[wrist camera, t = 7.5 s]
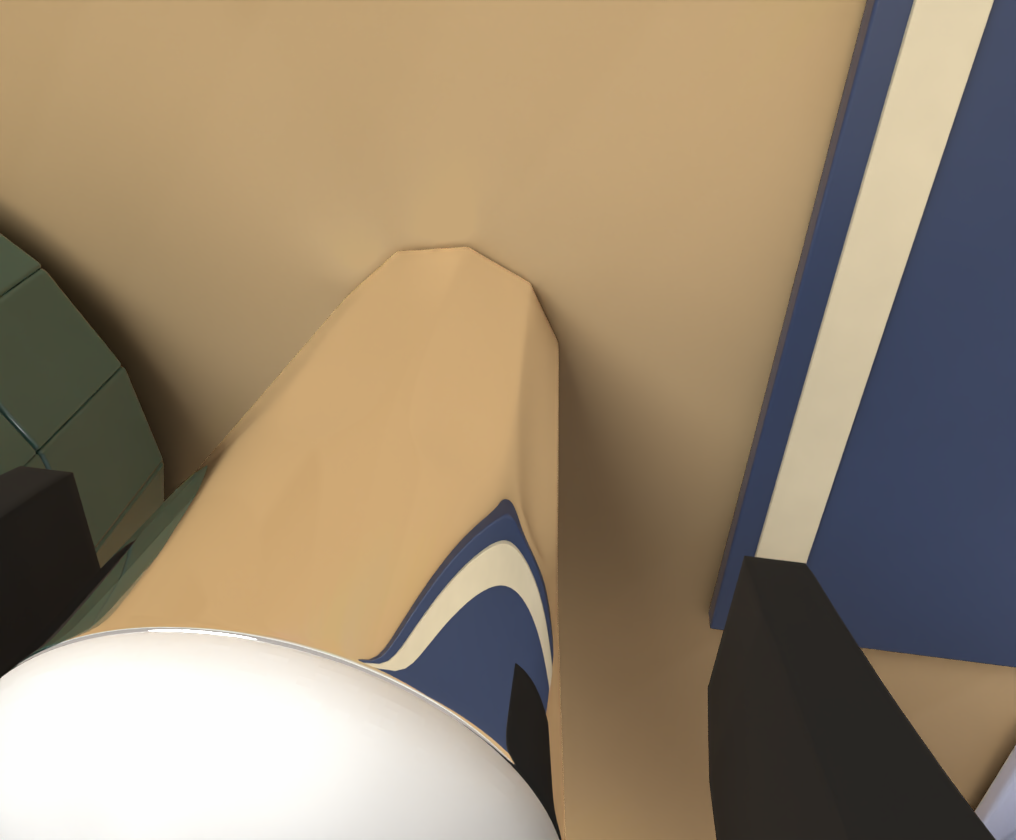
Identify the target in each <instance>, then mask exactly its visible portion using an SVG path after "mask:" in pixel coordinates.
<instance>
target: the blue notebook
mask: <svg viewBox="0 0 1016 840" xmlns="http://www.w3.org/2000/svg"><path fill="white" fill-rule="evenodd" d="M744 556H752V557H760V558H768V559H776V560H784V561H792V562H800V563H805V564H806V565H807V566H808V567H809V569H810V570H811V571H812V572H813V574H814V576H815V577H816V579H817V580H818V582H819V584H820V585H821V587H822V588H823V590H824V592H825V593H826V595H827V596H828V598H829V600H830V601H831V603H832V604H833V606H834V608H835V609H836V611H837V612H838V614H839V616H840V617H841V619H842V620H843V622H844V624H845V625H846V627H847V628H848V630H849V632H850V633H851V635H852V636H853V638H854V639H855V641H856V643H857V644H858V646H859V647H860V648H868V649H876V650H883V651H891V652H899V653H907V654H915V655H923V656H930V657H938V658H946V659H954V660H962V661H970V662H977V663H985V664H993V665H1001V666H1009V667H1016V0H867V2H866V6H865V10H864V14H863V18H862V21H861V25H860V29H859V33H858V37H857V41H856V45H855V49H854V52H853V56H852V60H851V64H850V68H849V72H848V76H847V79H846V83H845V87H844V91H843V95H842V99H841V103H840V107H839V110H838V114H837V118H836V122H835V126H834V130H833V134H832V137H831V141H830V145H829V149H828V153H827V157H826V161H825V164H824V168H823V172H822V176H821V180H820V184H819V188H818V192H817V195H816V199H815V203H814V207H813V211H812V215H811V219H810V222H809V226H808V230H807V234H806V238H805V242H804V246H803V250H802V253H801V257H800V261H799V265H798V269H797V273H796V277H795V280H794V284H793V288H792V292H791V296H790V300H789V304H788V307H787V311H786V315H785V319H784V323H783V327H782V331H781V335H780V338H779V342H778V346H777V350H776V354H775V358H774V362H773V365H772V369H771V373H770V377H769V381H768V385H767V389H766V393H765V396H764V400H763V404H762V408H761V412H760V416H759V420H758V423H757V427H756V431H755V435H754V439H753V443H752V447H751V450H750V454H749V458H748V462H747V466H746V470H745V474H744V478H743V481H742V485H741V489H740V493H739V497H738V501H737V505H736V508H735V512H734V516H733V520H732V524H731V528H730V532H729V536H728V539H727V543H726V547H725V551H724V555H723V559H722V563H721V566H720V570H719V574H718V578H717V582H716V586H715V590H714V593H713V597H712V601H711V605H710V609H709V623H710V627H711V628H712V629H719V630H724V628H725V624H726V620H727V617H728V613H729V609H730V606H731V602H732V599H733V595H734V591H735V588H736V584H737V580H738V577H739V573H740V570H741V566H742V562H743V559H744Z"/></svg>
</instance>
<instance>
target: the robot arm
mask: <svg viewBox="0 0 1016 840" xmlns="http://www.w3.org/2000/svg"><path fill="white" fill-rule="evenodd" d="M100 569H101V568H100V565H99V561H98V558H97V554H96V551H95V547H94V544H93V540H92V537H91V533H90V530H89V526H88V523H87V519H86V516H85V512H84V509H83V505H82V502H81V498H80V495H79V491H78V488H77V484H76V481H75V478H74V474H73V472H65V471H57V470H49V469H41V468H33V467H25V466H19V467H17V468H15V469H12V470H10V471H8V472H6V473H4V474H2V475H0V676H1V674H2V673H3V672H4V671H5V670H6V669H7V668H8V667H9V666H10V665H11V663H12V662H13V661H14V660H15V659H16V658H17V657H18V656H19V655H20V654H21V653H22V652H23V651H24V650H25V648H26V647H27V646H28V645H29V644H30V643H31V642H32V641H33V640H34V639H35V638H36V637H37V636H38V635H39V634H40V633H41V631H42V630H43V629H44V628H45V627H46V626H47V625H48V624H49V623H50V622H51V621H52V620H53V619H54V618H55V617H56V616H57V614H58V613H59V612H60V611H61V610H62V609H63V608H64V607H65V606H66V605H67V604H68V603H69V602H70V601H71V600H72V599H73V597H74V596H75V595H76V594H77V593H78V592H79V591H80V590H81V589H82V588H83V587H84V586H85V585H86V584H87V583H88V582H89V580H90V579H91V578H92V577H93V576H94V575H95V574H96V573H97V572H98V571H99V570H100ZM708 743H709V782H710V791H711V799H712V807H713V815H714V823H715V831H716V839H717V840H1016V745H1015V747H1014V748H1013V750H1012V752H1011V753H1010V755H1009V756H1008V758H1007V760H1006V761H1005V763H1004V765H1003V766H1002V768H1001V769H1000V771H999V773H998V774H997V776H996V778H995V779H994V781H993V782H992V784H991V786H990V787H989V789H988V791H987V792H986V794H985V795H984V797H983V799H982V800H981V802H980V804H979V805H978V807H977V808H976V810H975V812H974V811H973V809H972V808H971V807H970V805H969V804H968V803H967V801H966V800H965V799H964V797H963V796H962V795H961V793H960V792H959V790H958V789H957V788H956V786H955V785H954V784H953V782H952V781H951V780H950V778H949V777H948V776H947V774H946V773H945V771H944V770H943V769H942V767H941V766H940V765H939V763H938V762H937V760H936V759H935V757H934V756H933V755H932V753H931V752H930V750H929V749H928V747H927V746H926V745H925V743H924V742H923V740H922V739H921V737H920V736H919V735H918V733H917V732H916V730H915V729H914V728H913V726H912V725H911V723H910V722H909V720H908V719H907V718H906V716H905V715H904V713H903V712H902V710H901V709H900V708H899V706H898V705H897V703H896V702H895V700H894V699H893V697H892V696H891V694H890V693H889V691H888V690H887V688H886V687H885V685H884V684H883V682H882V681H881V679H880V678H879V676H878V675H877V673H876V672H875V670H874V669H873V667H872V666H871V664H870V663H869V661H868V660H867V658H866V656H865V655H864V653H863V652H862V650H861V649H860V647H859V646H858V644H857V643H856V641H855V639H854V638H853V636H852V635H851V633H850V632H849V630H848V628H847V627H846V625H845V624H844V622H843V620H842V619H841V617H840V616H839V614H838V612H837V611H836V609H835V608H834V606H833V604H832V603H831V601H830V600H829V598H828V596H827V595H826V593H825V592H824V590H823V588H822V587H821V585H820V584H819V582H818V580H817V579H816V577H815V576H814V574H813V572H812V571H811V570H810V569H809V567H808V566H807V565H806V564H805V563H800V562H792V561H784V560H776V559H768V558H760V557H752V556H744V559H743V562H742V566H741V570H740V573H739V577H738V580H737V584H736V588H735V591H734V595H733V599H732V602H731V606H730V609H729V613H728V617H727V620H726V624H725V628H724V631H723V635H722V638H721V642H720V646H719V649H718V653H717V657H716V660H715V664H714V667H713V671H712V675H711V678H710V682H709V685H708Z"/></svg>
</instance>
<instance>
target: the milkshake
mask: <svg viewBox="0 0 1016 840" xmlns="http://www.w3.org/2000/svg"><path fill="white" fill-rule="evenodd" d="M558 433H559V346H558V341H557V339H556V337H555V335H554V333H553V331H552V329H551V326H550V324H549V322H548V320H547V318H546V316H545V314H544V312H543V309H542V307H541V305H540V303H539V301H538V299H537V296H536V294H535V292H534V290H533V288H532V286H531V283H530V282H528V281H526V280H525V279H523V278H521V277H519V276H518V275H516V274H514V273H512V272H511V271H509V270H507V269H505V268H504V267H502V266H500V265H498V264H497V263H495V262H493V261H492V260H490V259H488V258H486V257H485V256H483V255H481V254H480V253H478V252H476V251H474V250H473V249H471V248H469V247H454V248H440V249H424V250H407V251H397V252H395V253H394V254H393V255H392V256H391V257H390V258H389V259H388V260H387V261H385V262H384V263H383V264H382V265H381V266H380V267H379V268H378V269H377V270H376V271H374V272H373V273H372V274H371V275H370V276H369V277H368V278H367V279H365V280H364V281H363V282H362V283H361V284H360V285H359V286H358V287H356V288H355V289H354V290H353V291H352V292H351V293H350V294H349V295H348V296H347V297H346V298H345V299H344V300H343V301H342V302H341V303H340V304H339V306H338V307H337V308H336V309H335V310H334V311H333V313H332V314H331V315H330V316H329V317H328V318H327V319H326V321H325V322H324V323H323V324H322V325H321V326H320V328H319V329H318V330H317V331H316V332H315V333H314V335H313V336H312V337H311V338H310V339H309V340H308V342H307V343H306V344H305V345H304V346H303V347H302V349H301V350H300V351H299V352H298V353H297V354H296V356H295V357H294V358H293V359H292V360H291V361H290V363H289V364H288V365H287V366H286V367H285V368H284V369H283V371H282V372H281V373H280V374H279V375H278V376H277V378H276V379H275V380H274V381H273V382H272V383H271V385H270V386H269V387H268V388H267V389H266V390H265V392H264V393H263V394H262V395H261V396H260V397H259V399H258V400H257V401H256V402H255V403H254V404H253V405H252V407H251V408H250V409H249V410H248V411H247V412H246V414H245V415H244V416H243V417H242V418H241V419H240V421H239V422H238V423H237V424H236V425H235V426H234V428H233V429H232V430H231V431H230V432H229V433H228V434H227V436H226V437H225V438H224V439H223V440H222V441H221V443H220V444H219V445H218V446H217V447H216V448H215V450H214V451H213V452H212V453H211V454H210V455H209V456H208V458H207V459H206V460H205V461H204V462H203V463H202V464H201V465H200V467H199V468H198V469H197V470H196V471H195V472H194V473H193V474H192V475H191V476H190V477H189V478H188V479H187V480H186V481H184V482H183V483H182V484H181V485H180V486H179V487H178V488H177V489H176V490H175V491H174V492H173V493H172V494H171V495H170V496H169V497H168V498H167V499H166V500H165V501H164V502H163V503H162V504H161V505H160V507H159V508H158V509H157V510H156V511H155V512H154V513H153V514H152V515H151V516H150V517H149V518H148V519H147V520H146V521H145V522H144V523H143V524H142V525H141V526H140V528H139V529H138V530H137V531H136V532H135V533H134V534H133V535H132V536H131V537H130V538H129V539H128V540H127V541H126V542H125V543H124V544H123V545H122V547H121V548H120V549H119V550H118V551H117V552H116V553H115V554H114V555H113V556H112V557H111V558H110V559H109V560H108V561H107V562H106V564H105V565H104V566H103V567H102V568H101V569H100V570H99V571H98V572H97V573H96V574H95V575H94V576H93V577H92V578H91V579H90V580H89V582H88V583H87V584H86V585H85V586H84V587H83V588H82V589H81V590H80V591H79V592H78V593H77V594H76V595H75V596H74V597H73V599H72V600H71V601H70V602H69V603H68V604H67V605H66V606H65V607H64V608H63V609H62V610H61V611H60V612H59V613H58V614H57V616H56V617H55V618H54V619H53V620H52V621H51V622H50V623H49V624H48V625H47V626H46V627H45V628H44V629H43V630H42V631H41V633H40V634H39V635H38V636H37V637H36V638H35V639H34V640H33V641H32V642H31V643H30V644H29V645H28V646H27V647H26V648H25V650H24V651H23V652H22V653H21V654H20V655H19V656H18V657H17V658H16V659H15V660H14V661H13V662H12V663H11V665H10V666H9V667H8V668H7V669H6V670H5V671H4V672H3V673H2V674H1V676H0V840H566V836H565V806H564V777H563V749H562V720H561V690H560V661H559V630H558Z"/></svg>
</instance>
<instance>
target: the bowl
mask: <svg viewBox="0 0 1016 840" xmlns="http://www.w3.org/2000/svg"><path fill="white" fill-rule="evenodd" d="M162 460H163V457H162V455H161V453H160V450H159V448H158V445H157V443H156V441H155V438H154V436H153V433H152V431H151V428H150V426H149V424H148V421H147V419H146V416H145V414H144V412H143V409H142V407H141V404H140V402H139V400H138V397H137V395H136V392H135V390H134V387H133V385H132V383H131V380H130V378H129V375H128V373H127V371H126V369H125V368H124V367H121V362H120V361H119V359H118V358H117V357H116V356H115V355H114V353H113V352H112V351H111V350H110V348H109V347H108V346H107V345H106V343H105V342H104V341H103V340H102V339H101V337H100V336H99V335H98V334H97V332H96V331H95V330H94V329H93V327H92V326H91V325H90V324H89V322H88V321H87V320H86V319H85V318H84V316H83V315H82V314H81V313H80V311H79V310H78V309H77V308H76V306H75V305H74V304H73V303H72V302H71V300H70V299H69V298H68V297H67V295H66V294H65V293H64V292H63V290H62V289H61V288H60V287H59V286H58V284H57V283H56V282H55V281H54V279H53V278H52V277H51V276H50V274H49V273H48V272H47V271H46V270H44V269H41V264H40V263H39V262H38V261H37V260H35V259H34V258H33V257H31V256H30V255H29V254H27V253H26V252H25V251H23V250H22V249H21V248H19V247H18V246H17V245H15V244H14V243H13V242H12V241H10V240H9V239H8V238H6V237H5V236H4V235H2V234H1V233H0V475H2V474H4V473H6V472H8V471H10V470H12V469H15V468H17V467H19V466H25V467H33V468H41V469H49V470H57V471H65V472H73V474H74V478H75V481H76V484H77V488H78V491H79V495H80V498H81V502H82V505H83V509H84V512H85V516H86V519H87V523H88V526H89V530H90V533H91V537H92V540H93V544H94V547H95V551H96V554H97V558H98V561H99V565H100V568H102V567H103V566H104V565H105V564H106V562H107V561H108V560H109V559H110V558H111V557H112V556H113V555H114V554H115V553H116V552H117V551H118V550H119V549H120V548H121V547H122V545H123V544H124V543H125V542H126V541H127V540H128V539H129V538H130V537H131V536H132V535H133V534H134V533H135V532H136V531H137V530H138V529H139V528H140V526H141V525H142V524H143V523H144V522H145V521H146V520H147V519H148V518H149V517H150V516H151V515H152V514H153V513H154V512H155V511H156V510H157V509H158V508H159V507H160V505H161V504H162V503H163V502H164V463H163V462H162Z"/></svg>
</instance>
